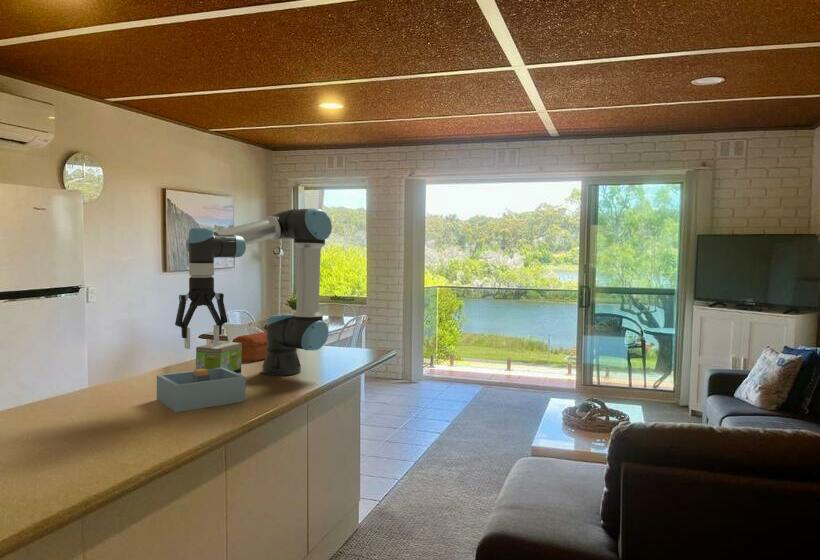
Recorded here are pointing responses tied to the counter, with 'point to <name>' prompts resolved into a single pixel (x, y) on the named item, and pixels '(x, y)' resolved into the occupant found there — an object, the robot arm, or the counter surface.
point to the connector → (201, 375)
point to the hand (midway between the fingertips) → (202, 346)
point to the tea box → (220, 356)
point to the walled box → (200, 389)
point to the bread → (253, 346)
